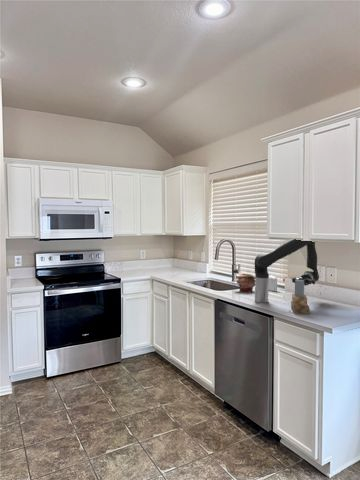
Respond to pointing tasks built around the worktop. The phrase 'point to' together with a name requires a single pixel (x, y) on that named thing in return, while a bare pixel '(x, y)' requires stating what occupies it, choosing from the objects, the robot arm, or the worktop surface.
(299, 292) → the tall block
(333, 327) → the worktop surface
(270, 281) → the photo printer
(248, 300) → the worktop surface
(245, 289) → the decorative planter
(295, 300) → the block upper
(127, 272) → the worktop surface
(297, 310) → the block lower
